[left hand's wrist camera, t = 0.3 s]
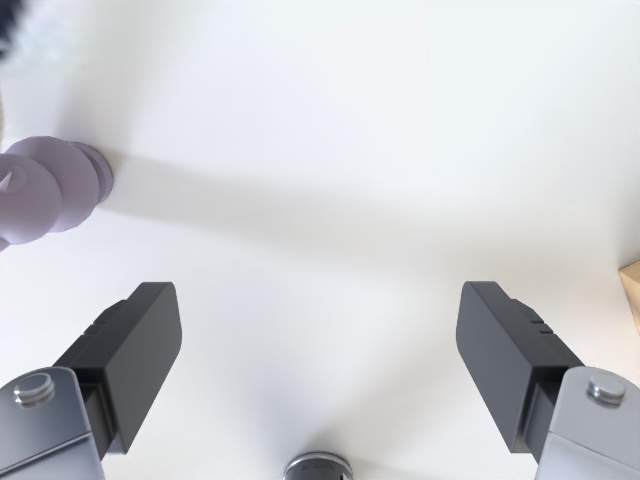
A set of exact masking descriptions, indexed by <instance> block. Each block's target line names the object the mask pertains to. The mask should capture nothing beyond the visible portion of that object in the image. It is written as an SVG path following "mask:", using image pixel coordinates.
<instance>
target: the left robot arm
mask: <svg viewBox="0 0 640 480" xmlns="http://www.w3.org/2000/svg"><path fill="white" fill-rule="evenodd" d="M181 342H182V329H181V322H180V316H179V309H178V303H177V296H176V290H175V286H174V284H173V283H172V282H143V283H141V284H140V285H139V286H138V287H137V289H136V290H135V291H134V292H133V293H132V294H131V295H130V297H129V298H128V299H127V300H121V301H119V302H117V303H116V304H114V305H112V306H111V307H109V308H107V309H106V310H104V311H103V312H102V313H101V314H100V315H99V317H98V318H97V319H96V320H95V321H94V322H93V325H90V326H89V327H88V328H87V329H86V330H85V331H84V335H81V336H80V337H79V338H78V339H77V340H76V341H75V342H74V343H73V344H72V345H71V346H70V347H69V349H68V350H67V351H66V352H65V353H64V354H63V355H62V356H61V357H60V358H59V359H58V360H57V361H56V362H55V363H54V364H53V366H52V367H45V368H41V369H37V370H34V371H31V372H28V373H26V374H23V375H21V376H19V377H17V378H15V379H14V380H12V381H10V382H9V383H7V384H6V385H5V386H3V387H2V388H1V389H0V480H106V479H105V476H104V472H103V469H102V465H101V461H102V459H103V457H104V456H105V455H126V454H127V452H128V450H129V448H130V446H131V444H132V442H133V440H134V438H135V436H136V434H137V433H138V431H139V429H140V427H141V425H142V423H143V421H144V419H145V417H146V415H147V413H148V411H149V409H150V407H151V406H152V404H153V402H154V400H155V398H156V396H157V394H158V392H159V390H160V388H161V386H162V384H163V382H164V380H165V379H166V377H167V375H168V373H169V371H170V369H171V367H172V365H173V363H174V361H175V359H176V357H177V355H178V353H179V351H180V347H181ZM456 342H457V347H458V350H459V353H460V355H461V357H462V359H463V361H464V363H465V365H466V367H467V369H468V371H469V372H470V374H471V376H472V378H473V380H474V382H475V384H476V386H477V388H478V390H479V392H480V394H481V396H482V398H483V400H484V402H485V404H486V406H487V408H488V410H489V412H490V413H491V415H492V417H493V419H494V421H495V423H496V425H497V427H498V429H499V431H500V433H501V435H502V437H503V439H504V441H505V443H506V445H507V447H508V449H509V451H510V453H532V455H533V456H534V458H535V460H536V462H537V464H538V469H537V472H536V476H535V479H534V480H640V389H639V388H638V387H637V386H635V385H634V384H633V383H631V382H630V381H628V380H626V379H625V378H623V377H621V376H619V375H617V374H614V373H612V372H609V371H606V370H603V369H599V368H595V367H586V366H585V365H584V364H583V363H582V362H581V361H580V360H579V358H578V357H577V356H576V355H575V354H574V353H573V352H572V351H571V350H570V349H569V348H568V347H567V346H566V344H565V343H564V342H563V341H562V340H561V339H560V338H559V337H558V336H557V335H556V334H553V331H552V329H551V328H550V327H549V326H548V325H547V324H544V321H543V320H542V319H541V318H540V317H539V315H538V314H537V313H536V312H535V311H534V310H533V309H531V308H530V307H528V306H526V305H525V304H523V303H521V302H520V301H518V300H516V299H510V298H509V296H508V295H507V294H506V293H505V292H504V291H503V290H502V288H501V287H500V286H499V285H498V284H497V283H496V282H494V281H467V282H465V283H464V285H463V288H462V294H461V301H460V308H459V314H458V321H457V327H456ZM284 480H353V474H352V470H351V468H350V466H349V465H348V464H347V463H346V462H345V461H344V460H343V459H341V458H340V457H338V456H335V455H333V454H329V453H323V452H314V453H307V454H304V455H301V456H299V457H297V458H295V459H294V460H292V461H291V462H290V463H289V464H288V466H287V467H286V469H285V472H284Z"/></svg>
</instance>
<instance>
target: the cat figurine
mask: <svg viewBox="0 0 640 480" xmlns="http://www.w3.org/2000/svg"><path fill="white" fill-rule="evenodd" d="M112 184H113V178H112V173H111V169H110V167H109V165H108V163H107V161H106V160H105V159H104V158H103V157H102V156H101V154H100V153H99V152H97V151H96V150H94V149H93V148H91V147H90V146H88V145H85V144H81V143H78V142H67V141H63V140H60V139H57V138H54V137H50V136H43V137H29V138H27V139H24V140H22V141H19V142H17V143H14V144H13V145H12V146H11V147H10V148H9V149H8V150H7V151H6V152H5V153H4V154H0V252H1V251H3V250H4V249H5V248H7V247H8V246H9V245H15V244H25V243H28V242H31V241H34V240H36V239H39V238H41V237H42V236H44V235H45V234H46V233H47V232H63V231H66V230H69V229H71V228H74V227H77V226H78V225H80V224H81V223H82V222H83V221H84V220H85V219H87V218H88V217H89V216H90V215H91V213H92V211H93V209H94V207H95V206H96V205H98V204H100V203H101V202H102V201H104V200H105V199H106V198H107V197H108V195H109V194H110V192H111V190H112Z"/></svg>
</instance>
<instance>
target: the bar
mask: <svg viewBox="0 0 640 480" xmlns="http://www.w3.org/2000/svg"><path fill="white" fill-rule="evenodd" d="M618 272H619V274H620V277H621V280H622V283H623V286H624V289H625V292H626V295H627V298H628V301H629V304H630V307H631V310H632V313H633V316H634V319H635V322H636V325H637V328H638V331H639V334H640V261H637V262H635V263H633V264H631V265H629V266H626V267H624V268H622V269H620V270H618Z"/></svg>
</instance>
